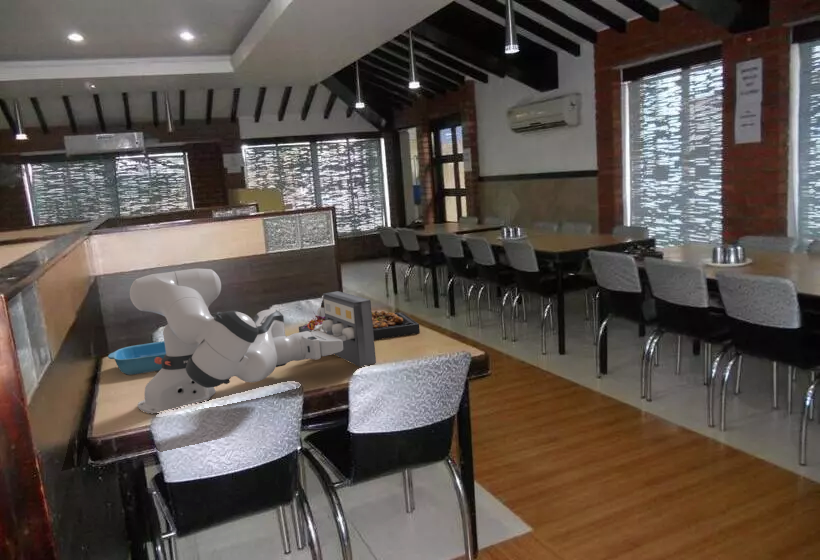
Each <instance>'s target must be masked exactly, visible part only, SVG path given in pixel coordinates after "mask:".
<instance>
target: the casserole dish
mask: <svg viewBox="0 0 820 560" xmlns="http://www.w3.org/2000/svg"><path fill="white" fill-rule="evenodd" d="M165 354H166V350H165V343H164V340H163V341H156V342H150V343H144V344H136V345H135V344H134V345H131V346H130V345H129V346H125V347H122V348H119V349H117V350H115V351H113V352H111V353H109V354H108V355H107V357H108V359H110V360H114V361H115V363H116V366H117V367H118V370H119V371H120V372H121V373H123V374H125V375H128V376H131V375H142V374H146V373H152V372H153V373H154V371H155V372H159V371H160V370H161V369H162V364H156V363H155V360H154V359H155V358H156V357H160V358H162V359H163V358H164V356H165ZM141 373H142V374H141Z"/></svg>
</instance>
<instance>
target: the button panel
mask: <svg viewBox="0 0 820 560" xmlns="http://www.w3.org/2000/svg"><path fill="white" fill-rule="evenodd" d="M322 296H323V299H322V300H324V310H325V320H330V319H333V324H339V323H343V327H344V328H349V327H354V332H355V339H350V340H345V341H343V350H342V351H341V352H338V353H335V355H334V356H336V355H337V356H336V357H338V356H339V357H338V358H340V357H341V359H342V358H343V360H344V359H345V360H344V361H346V360H347V361H346V362H348V361H349V362H348V363H350V362H351V364H352V363H353V364H352V365H354V364H355V366H356V367H359V368H362V367H361V366H364V365H368V366H370V365H369V364H372V365H375V364H374V363H376V364H377V358H376V357H377V356H376V348H375V347H376V346H375V340H374V334H373V323H372V302H371V299H368V298H364V297H361V296H358V295H354V294H350V293H345V292H342V291H339V290H337V291H336V290H335V291H331V292H324V293H322ZM327 334H329V335H333V332H332V331H327ZM364 367H365V366H364Z"/></svg>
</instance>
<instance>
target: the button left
mask: <svg viewBox="0 0 820 560" xmlns="http://www.w3.org/2000/svg"><path fill="white" fill-rule="evenodd" d="M332 325H334V324H333V319H330V320H325V321H323V322H322V327H323V330H324V331H325V332H327V331H332Z"/></svg>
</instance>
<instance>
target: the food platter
mask: <svg viewBox="0 0 820 560" xmlns="http://www.w3.org/2000/svg"><path fill="white" fill-rule="evenodd" d="M371 312H372V311H371ZM313 314H314V317H315V318H314V317H313V316H312V317H311V318H312V319H311V320H307V322H308V323H306V324H304V325H302V326H298V333H299V332H305V331H309V332H313V331H321V332H324V333H326V334H327V332H325V331H324V330H323V327H322V322H323V321H325V320H324V319H325V316H324V317H321V316H317V314H316V313H315V312H313ZM372 323H373V334H374V341H375V339H377V340H382V338H384V339H389V338H397V337H402V336H403V337H404V336H411V335H417V334H420V333H421V329H420V323H418V322H417V321H415V320H414V319H413V318H411V317H410V316H408V315H407V314H406V313H404V312H397V311H396V312H390V311H387V312H386V311H385V310H381V311H379V312H378V310H375V311H374V312H372Z"/></svg>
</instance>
